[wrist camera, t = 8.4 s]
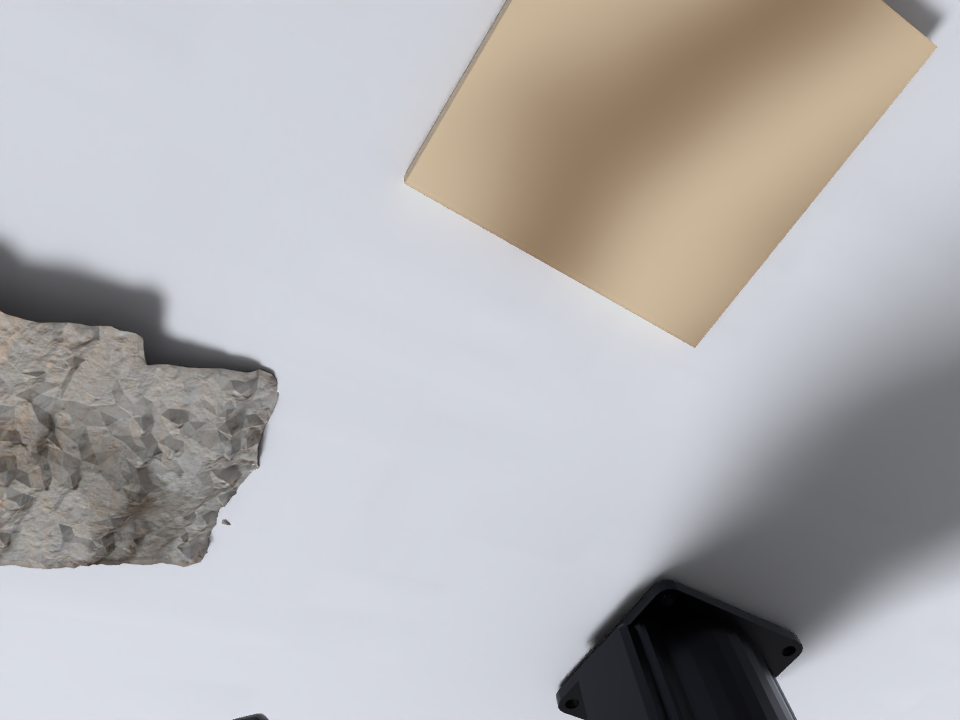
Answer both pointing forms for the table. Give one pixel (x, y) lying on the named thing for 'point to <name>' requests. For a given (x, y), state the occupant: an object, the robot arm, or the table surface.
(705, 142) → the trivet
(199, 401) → the stone fragment
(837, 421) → the table surface
